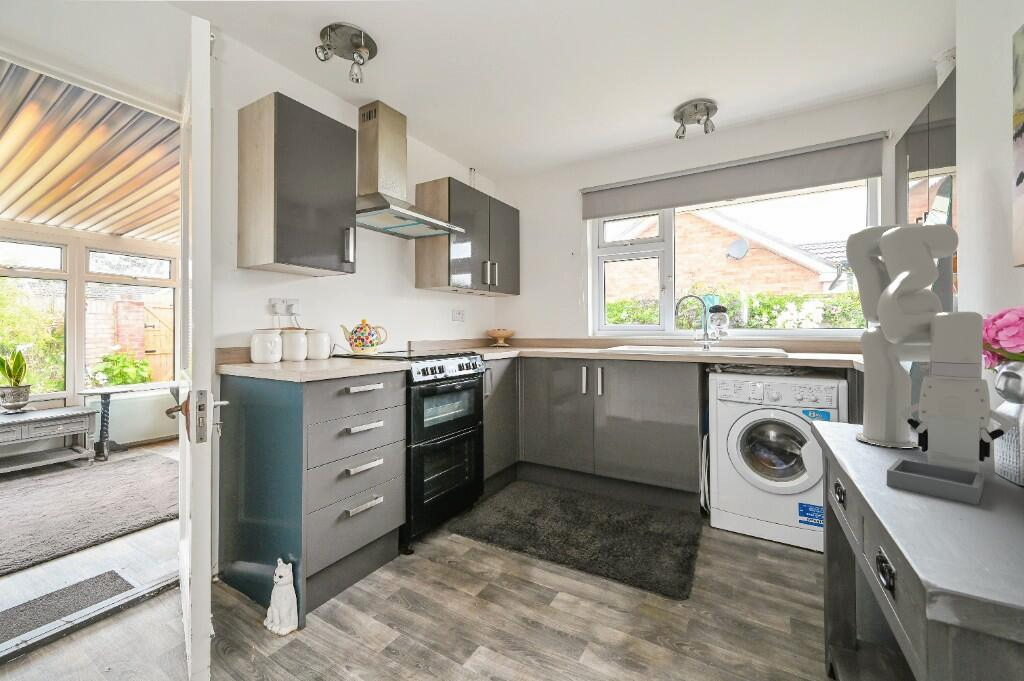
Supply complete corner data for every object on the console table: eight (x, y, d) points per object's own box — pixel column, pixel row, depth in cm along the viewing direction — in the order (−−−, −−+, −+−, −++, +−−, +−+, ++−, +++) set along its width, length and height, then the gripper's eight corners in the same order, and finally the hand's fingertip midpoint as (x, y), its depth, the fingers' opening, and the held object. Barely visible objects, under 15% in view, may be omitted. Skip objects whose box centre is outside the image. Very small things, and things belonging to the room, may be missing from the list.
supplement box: (976, 475, 88) (978, 415, 88) (978, 485, 83) (980, 421, 83) (927, 467, 94) (928, 410, 93) (926, 475, 88) (927, 415, 88)
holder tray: (898, 472, 91) (899, 458, 91) (983, 488, 81) (983, 473, 81) (886, 485, 83) (886, 470, 83) (978, 505, 74) (978, 488, 74)
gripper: (895, 369, 92) (893, 449, 93) (1019, 376, 79) (1016, 469, 79) (901, 367, 97) (899, 443, 97) (1020, 373, 83) (1017, 461, 84)
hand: (952, 454), depth 88 cm, fingers closed on supplement box, 7 cm apart
